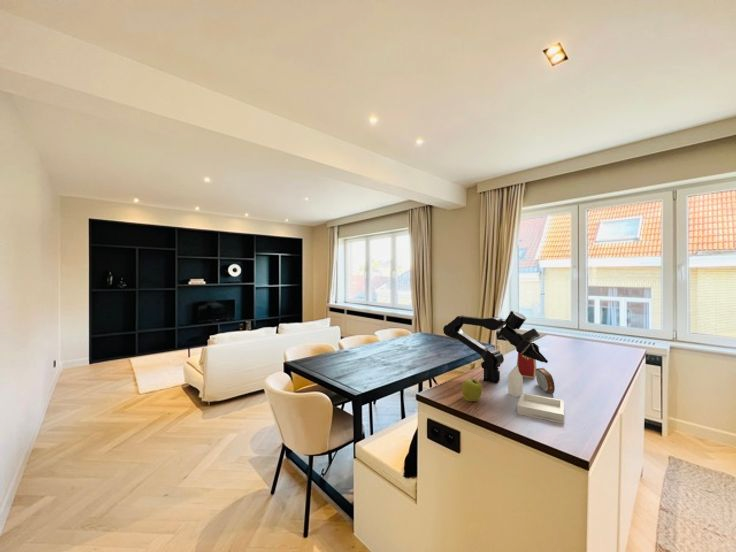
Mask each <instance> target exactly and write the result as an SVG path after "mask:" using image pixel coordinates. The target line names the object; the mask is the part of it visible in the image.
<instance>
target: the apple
mask: <svg viewBox="0 0 736 552" xmlns="http://www.w3.org/2000/svg"><path fill="white" fill-rule="evenodd" d="M471 377H473V375H471ZM482 392H483V386H482V384H481V382H480V381H479V380H476V379H474V378H466V379H465V380H463V382H462V384H461V394H462V396H463V398H464V399H465V401H467V402H472V401H476V402H478V401H479V399H480V398H481V396H482Z"/></svg>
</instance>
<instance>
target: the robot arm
mask: <svg viewBox="0 0 736 552" xmlns="http://www.w3.org/2000/svg"><path fill="white" fill-rule="evenodd" d="M526 320H527V317H526V316H525V315H524V314H522V313H519V312H517V311H515V310H510V312H509V314H508V316H507V317H506V318H505V319H504V318H502V317H501V316H494V317H478V316H477V317H475V316H468V315H467V316H466V315H457V316H456V317H455V318H454V319H453V320H451V321H450V322H448V324H445V325H444V326H443V328H442V329H443V330H442V332H443V334H444V335H445V336H447V337H449V338H451V339H454V340H457V341H459V342H460V343H462V344H463V345H465V346H466V347H468V348H469V349H470V350H472V351H473V352H475V353H477V354H478V355H479V356H481V359H482V360H483V361H482V362H481V363H480V366H481V369H483V379H482V381H483V382H488V383H493V384H498V383H499V382H500V380H501V371H500V370H499V368H500V367H501V365H502V364H503V363H504V361H505V358H504V355H503V354H502V353H501V351H500V350H498V349H496V347H492V346H491V347H486V346H484V345H483V344H481V343H480V342H478V341H477V340H476V339H474V338H473V337H470V336H469V335H468V334H466V333H465V332H464V331H463V330H462V327H463V326H464V325H469V326H477V327H483V328H484V329H487V330H490V331H496V332H495V334H496V339H501V338H503V339H505V340H506V341H507V342H508V343H509V344H510V345H512V346H514V347H515V351H516V352H517V354H518V353H520V354H522V352H523V351H524V352H523V354H522V355H524V356H527V357H529V358H532V359H535V360H536V361H538V362H541V363H544V364H548V362H549V360H548V359H547V358H546V357H545V356H544V355H543V354H542V353H541V352H540V347H539V345H538V344H537V343H535V342H532V341H533V340H534V339H535V338H539V337H540V336H541V335H540V333H539V332H538V331H537V329H536V328H531V329H529V330H528V331H526V332H524V333H523V334H522V333H519V332H517V331H516V330H520V328H521V327H522V326H523V324H524V323H525V322H526ZM497 330H499V331H497ZM530 340H531V341H530ZM531 342H532V343H531Z"/></svg>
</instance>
